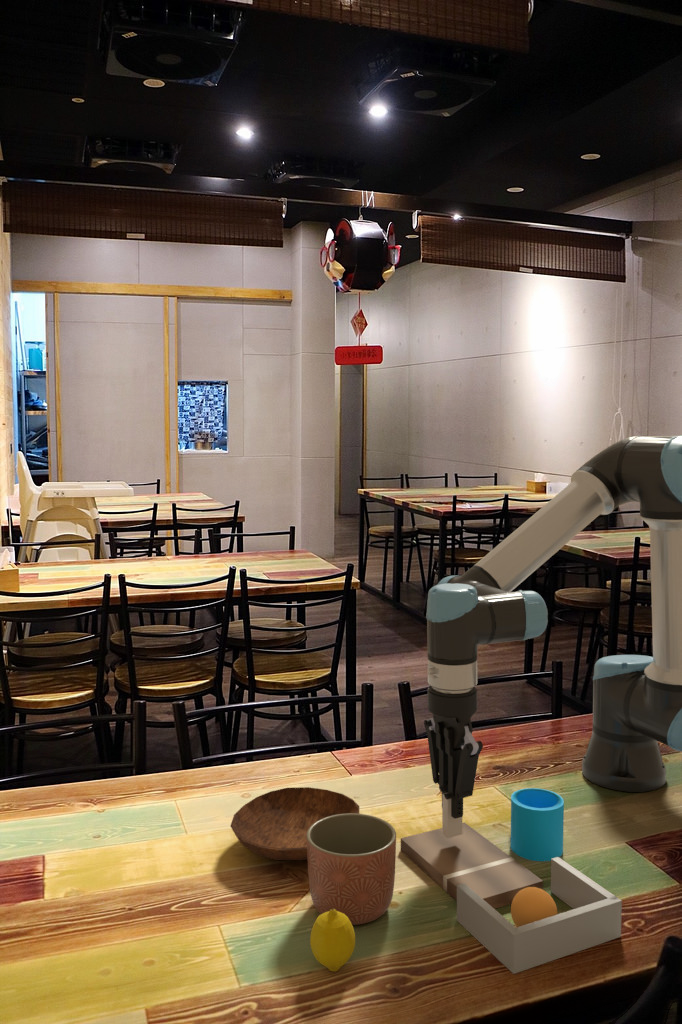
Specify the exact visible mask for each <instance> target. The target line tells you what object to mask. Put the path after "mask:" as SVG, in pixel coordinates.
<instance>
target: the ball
mask: <svg viewBox="0 0 682 1024" xmlns="http://www.w3.org/2000/svg"><path fill="white" fill-rule="evenodd" d="M556 904H557V903H556V902H555V900H554V899H553V897H552V896H551V895H550V894H549V892H547V891H545V890H544V889H543V890H542V889H540V888H537V887H527V888H524V889H522V890H520V891H519V892H518V893H517V894H516V895H515V897H514V898H513V901H512V904H510V905H511V906H510V915H511V919H512V921H513V923H514V926H515V927H516V928H517V927H520V926H523V925H526V924H529V923H532V922H535V921H538V920H542V919H545V918H548V917H551V916H554V915H557V914H559V913H558V908H557V905H556Z"/></svg>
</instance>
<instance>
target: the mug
mask: <svg viewBox="0 0 682 1024" xmlns="http://www.w3.org/2000/svg"><path fill="white" fill-rule="evenodd" d="M564 801H565V800H564V798H563V797H562V796H561V795H560V794H559V793H557V792H555V791H552V790H550V789H545V788H540V787H539V788H537V787H525V788H521V789H517V790H516V791H513V793H512V794H511V796H510V850H511V851H512V852H513V853H514V854H515V855H517V856H518V857H521V859H522V858H523V859H525V860H529V861H533V862H551V859H552V858H555V857H559V858H561V857H562V855H563V853H564V826H565V825H564V820H565V817H564V815H565V802H564Z"/></svg>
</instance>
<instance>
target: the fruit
mask: <svg viewBox="0 0 682 1024" xmlns="http://www.w3.org/2000/svg"><path fill="white" fill-rule="evenodd" d="M309 939H310V940H309V943H310V948H311V952H312V954H313V956H314V958H315V959H316V961H317V962H318V963H320V964H321V965H322V966H323V967H324V968H325V967H326V968H327V969H328V970H329V971H331V972H337V971H339V970H340V969H341V967H342V966H344V965H345V964H347V962H348V961H349V960H350V958H351V957H352V955H353V952H354V951H355V948H356V933H355V928H354V925H352V924H351V922H350V920H349V918H348V917H347V916H346V915H345V914H343V913H341V912H338V911H336V910H335V909H334V908H332V909H331V910H330V911H328V912H325V913H323V914H319V915H318V917H317V918H316V919H315V921H314V923H313V926H312V927H311V931H310V938H309Z"/></svg>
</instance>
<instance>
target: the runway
mask: <svg viewBox="0 0 682 1024" xmlns="http://www.w3.org/2000/svg"><path fill="white" fill-rule="evenodd" d="M400 851H401V853H403V854H404V855H405V856H406V857H407V858H408V859H409V860H410V861H412V862H413V863H414V864H415V865H416V866H417V867H418V868H420V869H421V871H422V872H424V873H425V874H426V875H427V876H428V877H429V878H431V879H432V880H433V881H434V882H435V883H436V884H437V885H438V886H440V888H442V890H444V891H445V892H446V893H447V894H448V895H449V896H450V897H452V898H453V900H455V901H456V902H457V885H460V884H463V883H465V884H466V885H467V886H468V887H469V888H470V889H472V890H473V891H474V892H475V893H476V894H477V895H479V896H480V897H481V898H482V899H483V900H484V901H486V902H487V903H488V904H489V905H490V906H491V907H493V908H494V909H495V910H496V909H500V908H502V907H506V906H508V905H511V904H512V901H513V898H514V897H515V895H516V894H517V893H518V892H519V891H520V890H522V889H524V888H527V887H537V888H540V889H542V890H544V880H543V879H542V878H540V877H538V876H537V875H536V874H534V873H533V872H532V871H531V870H530V869H528V868H526V867H525V866H524V865H522V864H521V863H520V862H519V861H517V860H515V859H514V857H512V856H510V855H509V854H508V853H506V851H504V850H503V849H501V848H499V847H498V845H497V844H496V845H495V844H494V843H493V842H492V841H490V840H489V839H487V837H485V836H483V835H482V834H480V833H479V831H477V830H475V829H474V828H473V827H471V826H470V825H468V823H466V822H462V834H461V835H457V836H454V837H450V838H447V837H446V836H444V835H443V834H442V827H440V828H438V829H437V828H436V829H432V830H429V831H425V832H421V833H416V834H412V835H408V836H404V837H401V838H400Z"/></svg>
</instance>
